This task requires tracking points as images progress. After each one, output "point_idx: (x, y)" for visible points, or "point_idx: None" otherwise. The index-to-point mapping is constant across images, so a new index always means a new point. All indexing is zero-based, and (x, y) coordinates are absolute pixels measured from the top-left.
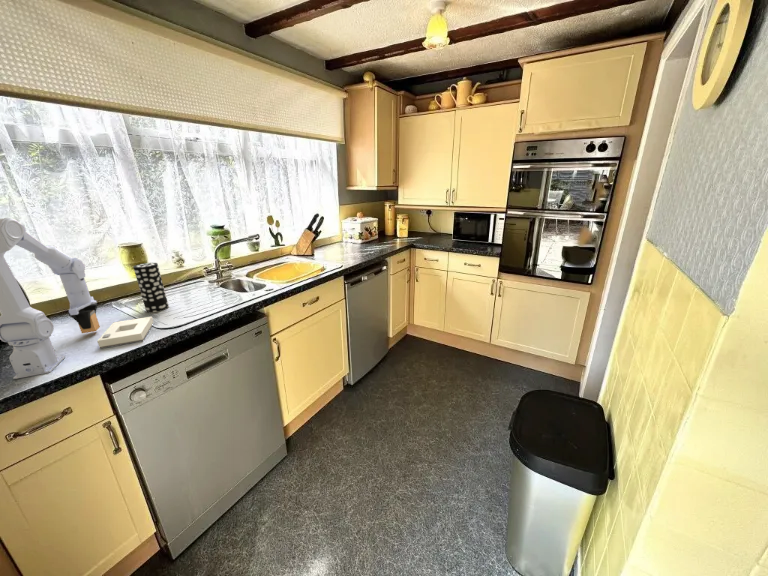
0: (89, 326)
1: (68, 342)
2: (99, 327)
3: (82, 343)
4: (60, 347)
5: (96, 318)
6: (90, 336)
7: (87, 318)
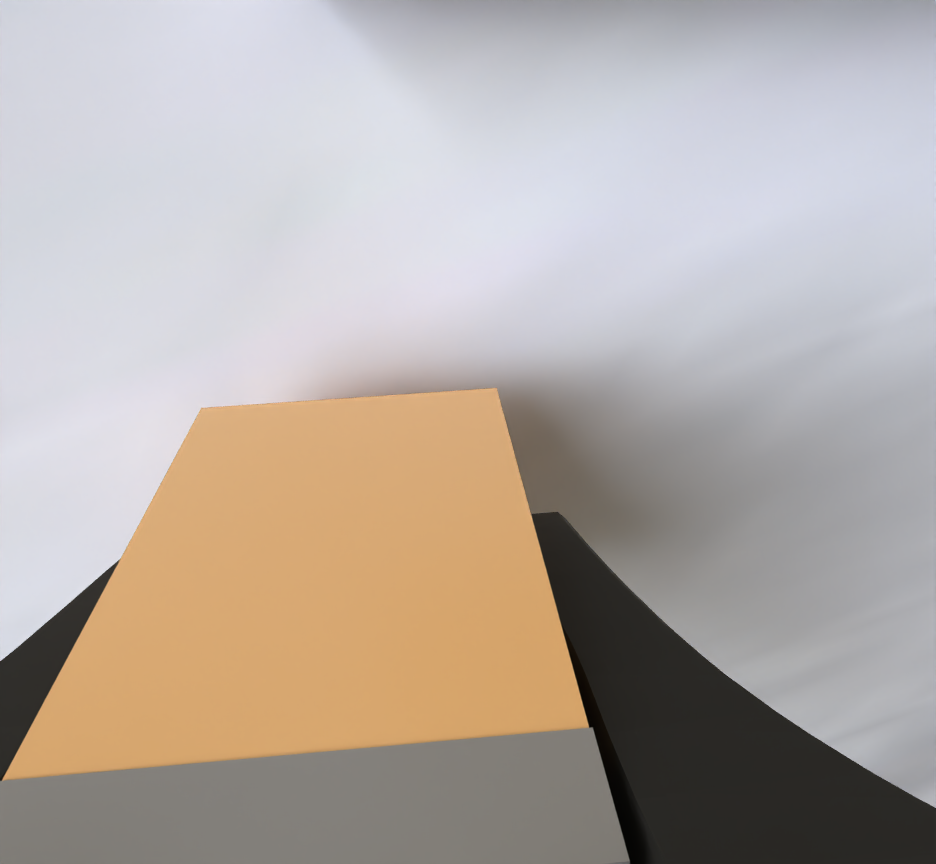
0: (582, 545)
1: None
2: (238, 406)
3: (857, 441)
4: (817, 691)
5: (169, 569)
6: (532, 444)
7: (790, 733)
